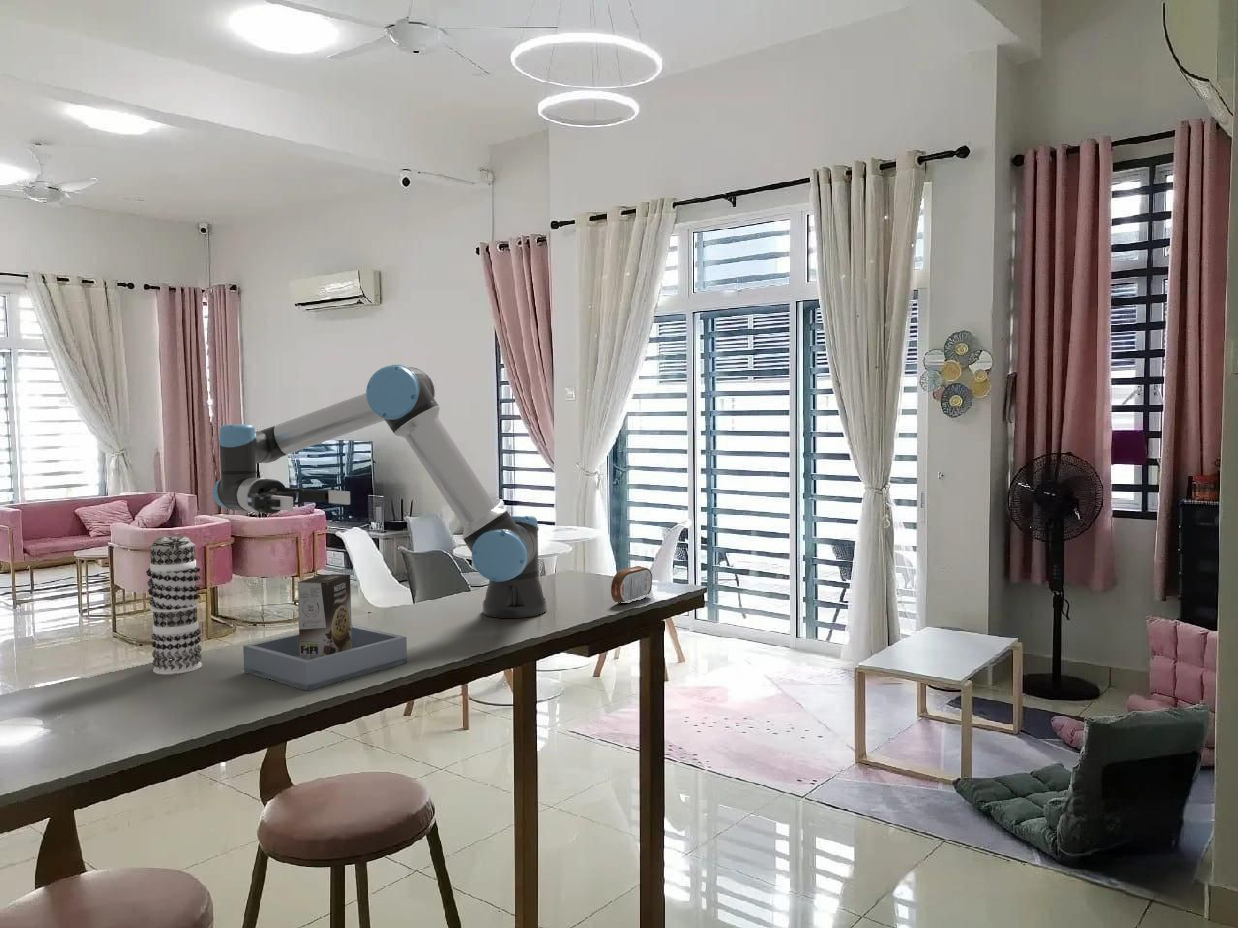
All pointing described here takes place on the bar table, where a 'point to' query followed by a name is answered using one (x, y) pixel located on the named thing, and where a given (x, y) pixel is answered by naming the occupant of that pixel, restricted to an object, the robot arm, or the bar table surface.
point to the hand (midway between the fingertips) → (321, 500)
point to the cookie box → (324, 615)
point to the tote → (324, 659)
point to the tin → (631, 583)
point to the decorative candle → (174, 605)
